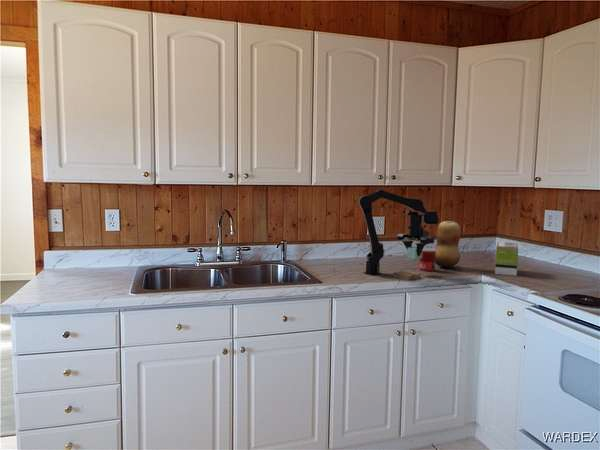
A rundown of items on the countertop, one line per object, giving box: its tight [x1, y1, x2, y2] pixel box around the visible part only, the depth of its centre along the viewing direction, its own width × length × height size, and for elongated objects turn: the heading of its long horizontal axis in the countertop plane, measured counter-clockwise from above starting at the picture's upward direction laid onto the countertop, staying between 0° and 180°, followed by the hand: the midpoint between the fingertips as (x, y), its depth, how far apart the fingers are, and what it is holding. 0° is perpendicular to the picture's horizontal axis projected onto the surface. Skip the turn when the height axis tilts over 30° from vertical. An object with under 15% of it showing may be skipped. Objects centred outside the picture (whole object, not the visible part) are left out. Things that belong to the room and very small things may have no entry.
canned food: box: [418, 247, 436, 273], centre depth 215 cm, size 8×8×11 cm
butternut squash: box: [434, 220, 461, 269], centre depth 221 cm, size 14×13×25 cm
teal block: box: [406, 246, 422, 260], centre depth 205 cm, size 5×5×5 cm
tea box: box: [494, 241, 519, 277], centre depth 212 cm, size 15×10×15 cm, turn 154°
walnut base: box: [392, 270, 421, 281], centre depth 199 cm, size 9×9×2 cm
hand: (414, 255), depth 205 cm, fingers closed on teal block, 5 cm apart
